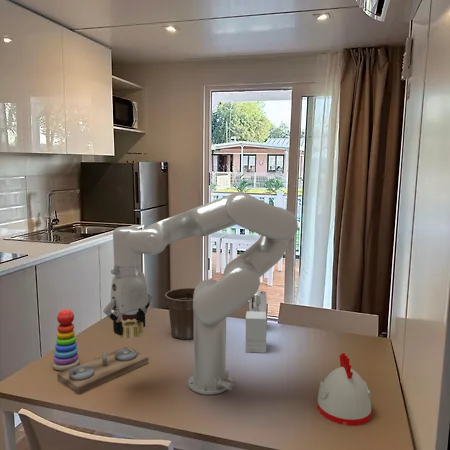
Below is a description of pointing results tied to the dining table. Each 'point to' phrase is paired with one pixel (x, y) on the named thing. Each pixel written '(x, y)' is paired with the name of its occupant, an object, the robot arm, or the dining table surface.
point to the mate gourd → (130, 315)
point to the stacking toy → (65, 342)
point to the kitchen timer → (344, 396)
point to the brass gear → (131, 328)
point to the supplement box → (256, 331)
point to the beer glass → (258, 302)
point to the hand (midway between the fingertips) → (130, 329)
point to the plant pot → (181, 312)
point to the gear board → (102, 369)
